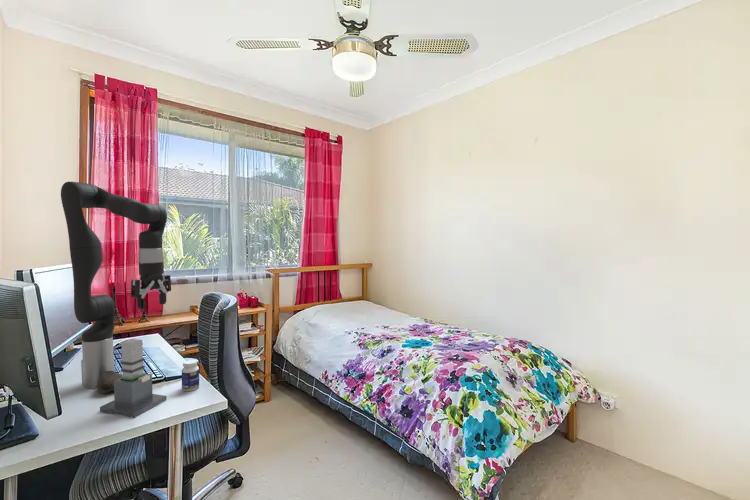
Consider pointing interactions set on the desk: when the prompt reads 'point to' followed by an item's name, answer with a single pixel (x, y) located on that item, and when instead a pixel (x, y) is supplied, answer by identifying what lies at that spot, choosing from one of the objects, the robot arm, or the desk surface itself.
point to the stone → (107, 381)
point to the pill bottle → (190, 375)
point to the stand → (133, 397)
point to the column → (132, 360)
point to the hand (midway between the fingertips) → (152, 306)
